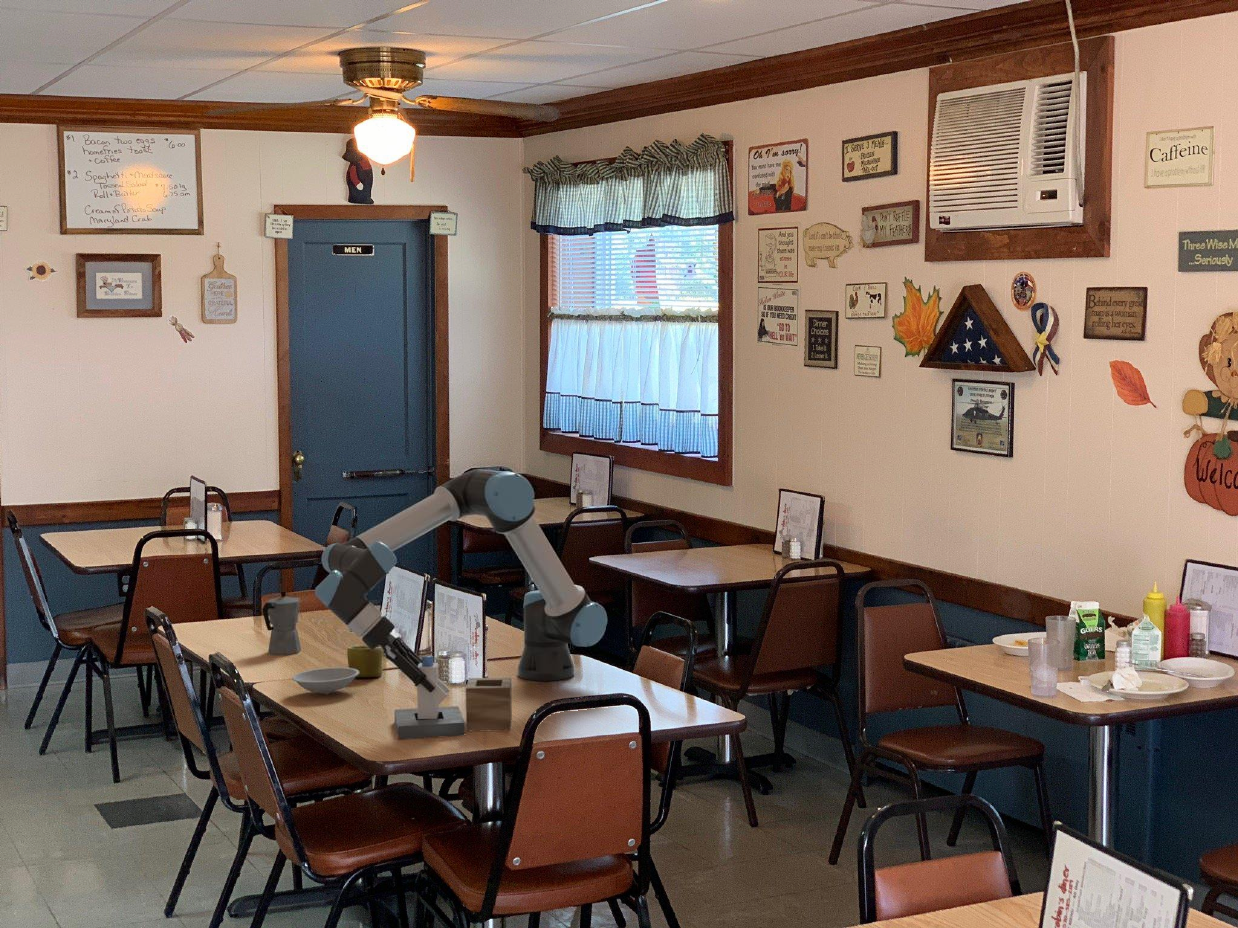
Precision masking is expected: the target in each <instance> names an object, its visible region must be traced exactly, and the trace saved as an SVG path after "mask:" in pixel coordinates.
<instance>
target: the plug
mask: <svg viewBox="0 0 1238 928" xmlns="http://www.w3.org/2000/svg"><path fill="white" fill-rule="evenodd" d="M421 659H422V663H419V665H418V668H419V669H420V670H421V671H422V672H423V673H424V674H425V675H426V677H427V676H429V677H430V678H431V679H432V680H433V681H434V682H435V683H436V684H437V685H438V679H439V663H438V662H434V656H433V655H423V656H421ZM416 688H417V689H416V690H417V708H418V719H437V717H438V714H439V707H440V706H439V705H440V704H439V703H438V702H437V701H436V700H435V699H434V698H433V697H432V696H431V695H430V694H429V693H428V692H426V691H425V690H424V689H423V688H422V687H421V686H420V685H418V686H417V687H416Z"/></svg>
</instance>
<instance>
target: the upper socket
mask: <svg viewBox="0 0 1238 928" xmlns="http://www.w3.org/2000/svg"><path fill="white" fill-rule="evenodd" d="M512 700H513V699H512V677H469V678H468V681H467V684H466V688H465V705H466V706H465V709H466V711H465V712H466V713H465V716H466V717H465V718H466V722H465V727H466V728H465V732H471V731H470V730H510V731H511V728H510V727H511V726H512V721H511V720H512V719H513V718H512V717H513V716H512V715H513V714H512V713H513V711H512V710H513V709H512V707H513V705H512Z"/></svg>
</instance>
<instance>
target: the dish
mask: <svg viewBox="0 0 1238 928" xmlns="http://www.w3.org/2000/svg"><path fill="white" fill-rule="evenodd" d="M357 675H359V671H358V670H356V669H352V668H349V667H322V668H314V669H309V670H304V671H302V672H298V673H296V674H295V673H294V674H293V675H292V676H291V680H292V681H294V682H296V683H297V684H298V685H299V686H300V687H301V688H303V689H304V690H306V691H308V692H312V693H322V695H329V694H331V692H335V691H339V690H341V689H344V688H345V687H348V685H349V684H350V683H352V681H353V680H355V679H356V678H355V676H357Z"/></svg>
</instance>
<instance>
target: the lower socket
mask: <svg viewBox="0 0 1238 928" xmlns="http://www.w3.org/2000/svg"><path fill="white" fill-rule="evenodd" d="M394 725H395V730H396V736H397V735H398V736H397V739H398V740H407V739H406V738H414V739H425V738H424V737H431V738H440V737H439V736H447V737H460V735H464V734H465V735H466V728H465V727H466V722H465V720H464V717H463V715H462V712H461V710H460V707H459V705H457V706H456V705H455V706H454V705H453V706H439V714H438V717H437V719H418V707H417V708H403V709H402V708H400V709H399V708H398V709H394ZM465 735H464V736H465Z"/></svg>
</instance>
